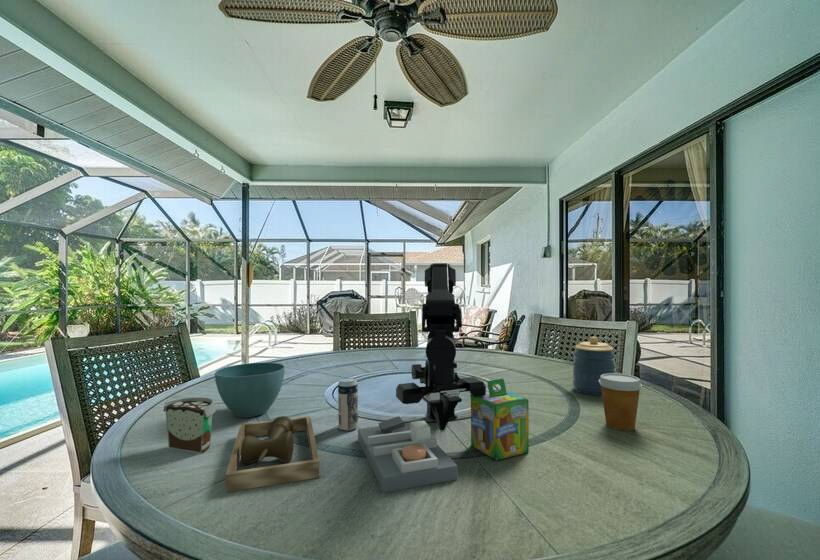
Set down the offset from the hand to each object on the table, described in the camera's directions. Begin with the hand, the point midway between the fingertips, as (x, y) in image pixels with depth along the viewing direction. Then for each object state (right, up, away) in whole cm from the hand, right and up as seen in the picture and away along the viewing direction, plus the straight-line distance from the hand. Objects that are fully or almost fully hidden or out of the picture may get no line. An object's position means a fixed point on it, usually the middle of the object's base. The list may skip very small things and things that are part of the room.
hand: (441, 430), depth 85 cm
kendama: (-36, -5, 0) cm, 36 cm away
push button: (-6, -2, -10) cm, 12 cm away
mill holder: (-35, -5, -1) cm, 36 cm away
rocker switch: (-11, -1, +5) cm, 12 cm away
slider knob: (-5, -2, -1) cm, 5 cm away
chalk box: (+13, -5, +1) cm, 13 cm away
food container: (-55, -5, +5) cm, 55 cm away
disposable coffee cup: (+45, -4, +14) cm, 47 cm away
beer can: (-22, -5, +14) cm, 27 cm away
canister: (+53, -4, +44) cm, 69 cm away
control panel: (-8, -5, -3) cm, 10 cm away
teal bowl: (-51, -5, +27) cm, 58 cm away
